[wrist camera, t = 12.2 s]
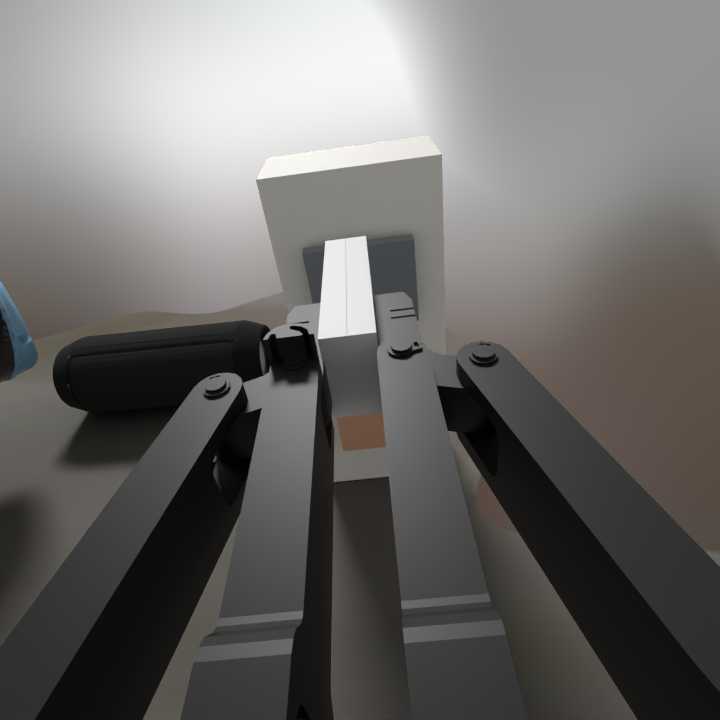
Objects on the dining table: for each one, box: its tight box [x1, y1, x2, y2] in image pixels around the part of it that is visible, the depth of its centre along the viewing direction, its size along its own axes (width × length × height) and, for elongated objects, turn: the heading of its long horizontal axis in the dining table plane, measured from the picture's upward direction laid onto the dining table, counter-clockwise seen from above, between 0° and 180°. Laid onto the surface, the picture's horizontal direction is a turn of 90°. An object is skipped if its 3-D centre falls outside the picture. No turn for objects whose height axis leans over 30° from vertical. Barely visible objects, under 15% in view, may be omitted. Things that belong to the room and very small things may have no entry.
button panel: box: [256, 135, 446, 482], centre depth 41 cm, size 12×6×30 cm, turn 92°
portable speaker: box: [53, 320, 270, 413], centre depth 60 cm, size 26×10×10 cm, turn 90°
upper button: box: [302, 234, 419, 321], centre depth 37 cm, size 8×7×6 cm
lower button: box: [337, 413, 386, 451], centre depth 44 cm, size 8×7×6 cm
